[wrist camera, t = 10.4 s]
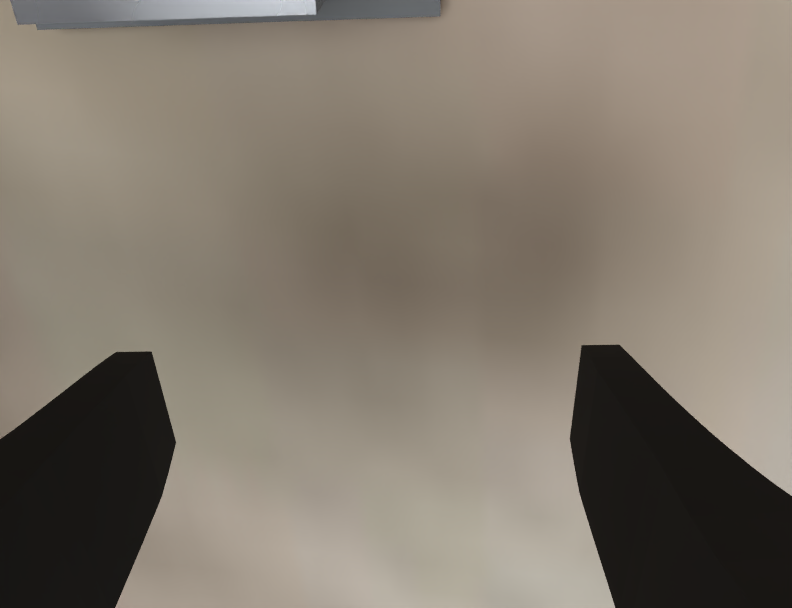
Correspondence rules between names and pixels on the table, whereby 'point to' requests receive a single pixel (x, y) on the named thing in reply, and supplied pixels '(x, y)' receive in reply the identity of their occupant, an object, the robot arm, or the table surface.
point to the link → (153, 9)
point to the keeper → (339, 5)
